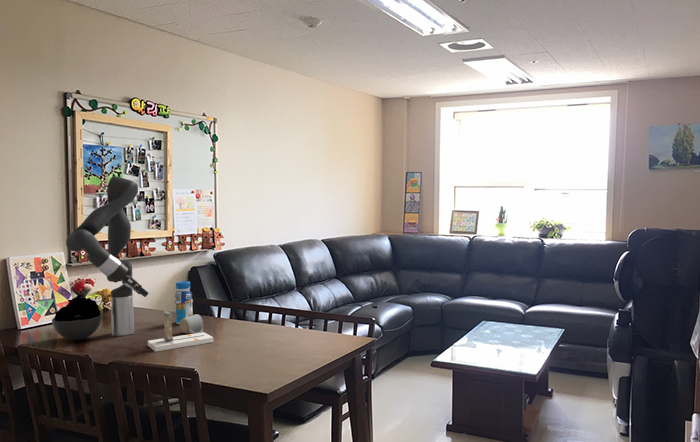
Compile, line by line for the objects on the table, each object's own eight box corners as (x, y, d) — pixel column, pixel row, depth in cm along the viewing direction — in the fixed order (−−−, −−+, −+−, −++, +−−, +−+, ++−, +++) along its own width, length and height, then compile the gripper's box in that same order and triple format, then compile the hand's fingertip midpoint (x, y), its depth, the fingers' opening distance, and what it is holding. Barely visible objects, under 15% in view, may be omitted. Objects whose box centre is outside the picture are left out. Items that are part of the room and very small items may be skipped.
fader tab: (167, 342, 238) (166, 314, 237) (163, 339, 243) (162, 311, 243) (174, 341, 239) (173, 313, 239) (169, 338, 245) (168, 310, 244)
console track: (155, 351, 232) (155, 346, 232) (147, 345, 243) (147, 340, 242) (213, 342, 245) (213, 337, 245) (204, 336, 255) (204, 331, 255)
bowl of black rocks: (83, 345, 245) (81, 301, 244) (42, 344, 249) (40, 300, 248) (112, 334, 264) (110, 293, 264) (73, 333, 268) (71, 292, 268)
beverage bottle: (174, 321, 288) (172, 281, 287) (191, 319, 291) (190, 280, 290) (177, 325, 280) (175, 283, 279) (194, 323, 284) (193, 282, 283)
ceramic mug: (179, 332, 264) (178, 316, 264) (194, 329, 270) (194, 313, 270) (191, 336, 257) (191, 319, 256) (207, 333, 263) (207, 316, 262)
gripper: (123, 262, 224) (155, 288, 231) (115, 259, 236) (145, 284, 243) (109, 277, 221) (142, 303, 228) (102, 273, 233) (133, 298, 240)
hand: (144, 293), depth 235 cm, fingers open, 8 cm apart
